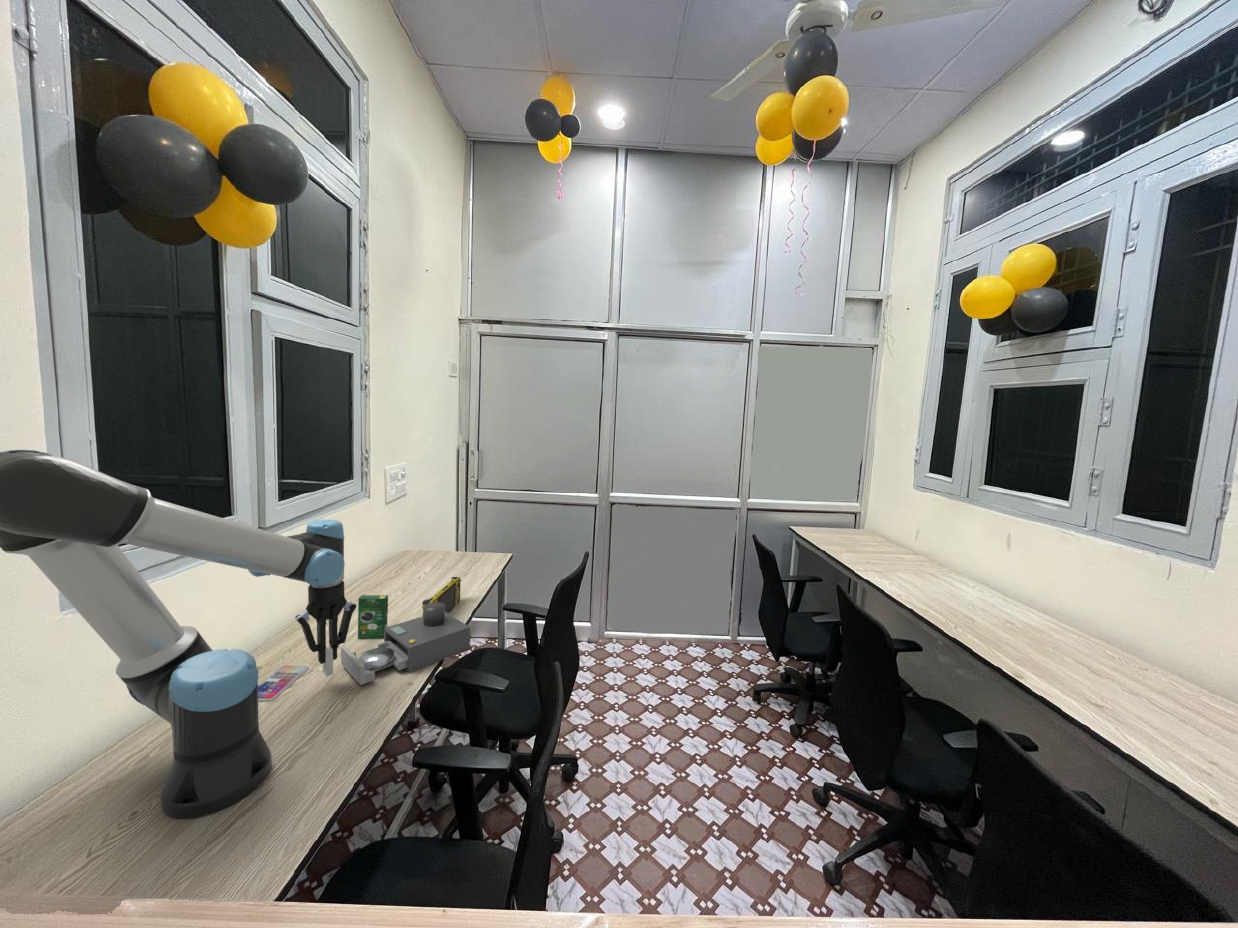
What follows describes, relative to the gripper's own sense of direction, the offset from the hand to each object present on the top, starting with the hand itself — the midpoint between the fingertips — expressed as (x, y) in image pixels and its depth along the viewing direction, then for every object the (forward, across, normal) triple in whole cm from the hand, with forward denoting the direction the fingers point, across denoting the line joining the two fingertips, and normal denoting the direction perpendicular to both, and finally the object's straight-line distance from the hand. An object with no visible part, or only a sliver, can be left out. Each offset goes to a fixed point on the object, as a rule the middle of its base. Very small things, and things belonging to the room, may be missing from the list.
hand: (328, 672), depth 113 cm
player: (+4, +26, 0) cm, 26 cm away
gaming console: (+4, +41, +19) cm, 45 cm away
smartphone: (+4, -8, +10) cm, 14 cm away
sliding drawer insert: (+2, +14, 0) cm, 14 cm away
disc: (+1, +12, 0) cm, 12 cm away
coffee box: (+4, +18, +19) cm, 26 cm away
